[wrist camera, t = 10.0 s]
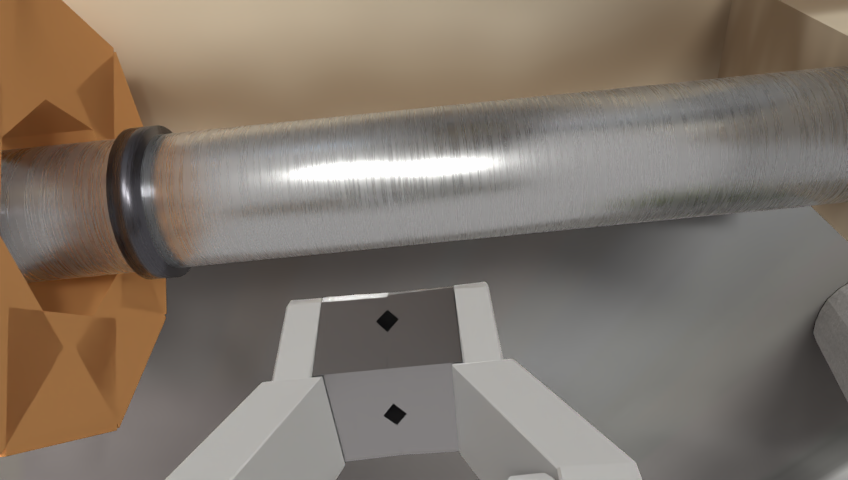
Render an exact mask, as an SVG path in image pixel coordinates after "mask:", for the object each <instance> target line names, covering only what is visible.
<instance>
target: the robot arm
mask: <svg viewBox="0 0 848 480" xmlns="http://www.w3.org/2000/svg"><path fill="white" fill-rule="evenodd" d="M454 451H460V455H461V456H462V457H463V459H464V460H465V461H466V463H467V464H468V465H469V466H470V468H471V469H472V470H473V472H474V473H475V474H476V475H477V477H478V478H479V479H480V480H642V478H641V475H640V472H639V470H638V467H637V464H636V462H635V461H634V460H632V459H631V458H630V457H629V456H628V455H627V454H625V453H624V452H623V451H622V450H621V449H619V448H618V447H617V446H616V445H615V444H614V443H612V442H611V441H610V440H609V439H608V438H606V437H605V436H604V435H603V434H602V433H601V432H599V431H598V430H597V429H596V428H595V427H593V426H592V425H591V424H590V423H589V422H588V421H586V420H585V419H584V418H583V417H582V416H581V415H579V414H578V413H577V412H576V411H575V410H573V409H572V408H571V407H570V406H569V405H568V404H566V403H565V402H564V401H563V400H562V399H560V398H559V397H558V396H557V395H556V394H555V393H553V392H552V391H551V390H550V389H549V388H547V387H546V386H545V385H544V384H543V383H542V382H540V381H539V380H538V379H537V378H536V377H534V376H533V375H532V374H531V373H530V372H529V371H527V370H526V369H525V368H524V367H523V366H521V365H520V364H519V363H518V362H517V361H516V360H514V359H503V355H502V350H501V346H500V341H499V336H498V331H497V326H496V321H495V316H494V311H493V306H492V301H491V296H490V291H489V286H488V284H487V283H486V282H478V283H469V284H461V285H454V286H453V287H452V286H449V287H440V288H430V289H420V290H410V291H400V292H391V293H376V294H362V295H348V296H335V297H324V298H315V299H302V300H291V301H290V303H289V304H288V306H287V307H286V312H285V317H284V322H283V327H282V332H281V337H280V342H279V347H278V352H277V357H276V362H275V368H274V373H273V378H272V381H269V382H262V383H261V384H260V385H259V386H258V387H257V388H256V389H255V390H254V391H253V392H252V393H251V394H250V395H249V396H248V397H247V398H246V399H245V400H244V401H243V402H242V403H241V404H240V405H239V406H238V407H237V408H236V409H235V410H234V411H233V412H232V413H231V414H230V415H229V416H228V417H227V418H226V419H225V420H224V421H223V422H222V423H221V424H220V425H219V426H218V427H217V428H216V429H215V430H214V431H213V432H212V433H211V434H210V435H209V436H208V437H207V438H206V439H205V440H204V441H203V442H202V443H201V444H200V445H199V446H198V447H197V448H196V449H195V450H194V451H193V452H192V453H191V454H190V455H189V456H188V457H187V458H186V459H185V460H184V461H183V462H182V463H181V464H180V465H179V466H178V467H177V468H176V469H175V470H174V471H173V472H172V473H171V474H170V475H169V476H168V477H167V478H166V479H165V480H336V479H337V477H338V476H339V474H340V473H341V471H342V470H343V468H344V466H345V462H347V461H355V460H363V459H372V458H380V457H389V456H397V455H408V454H424V453H439V452H454Z"/></svg>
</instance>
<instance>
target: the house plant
mask: <svg viewBox="0 0 848 480" xmlns="http://www.w3.org/2000/svg"><path fill="white" fill-rule="evenodd" d="M813 333H814V336H815V339H816V342H817V344H818V346H819V348H820V349H821V351H822V353H823V355H824V357H825V359H826V361H827V363H828V365H829V367H830V369H831V371H832V373H833V375H834V377H835V379H836V381H837V382H838V384H839V386H840V388H841V390H842V392H843V394H844V396H845V398H846V400H847V402H848V284H846V285H844V286H843V287H841V288H840V289H839V290H837V291H836V292H835V293H834V294H833V295H832V296H831V297H830V298H828V299H827V301H826V303H825V304H824V306H823V307H822V309H821V311H820V313H819V315H818V317H817V320H816V322H815V327H814V332H813Z"/></svg>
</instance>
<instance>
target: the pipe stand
mask: <svg viewBox="0 0 848 480" xmlns="http://www.w3.org/2000/svg"><path fill="white" fill-rule="evenodd" d="M62 1H63V2H64V3H66V4H67V5H68V6H69V7H70V8H71V9H72V10H73V11H74V12H75V13H76V14H77V15H78V16H80V17H81V18H82V19H83V20H84V21H85V22H86V23H87V24H88V25H89V26H90V27H91V28H92V29H94V30H95V31H96V32H97V33H98V34H99V35H100V36H101V37H102V38H103V39H104V40H105V41H106V42H108V43H109V44H110V45H111V46H112V47H113V48H114V52H116V54H117V57H118V59H119V62H120V65H121V67H122V70H123V73H124V76H125V78H126V81H127V84H128V86H129V89H130V92H131V95H132V97H133V100H134V103H135V105H136V108H137V111H138V114H139V116H140V119H141V122H142V124H143V127H146V126H156V125H160V126H164V127H166V128H168V129H169V130H170V131H171V132H172V133H179V132H189V131H199V130H209V129H219V128H229V127H239V126H249V125H259V124H269V123H279V122H288V121H298V120H308V119H318V118H328V117H338V116H348V115H358V114H368V113H378V112H388V111H398V110H408V109H418V108H428V107H438V106H448V105H458V104H467V103H477V102H487V101H497V100H507V99H517V98H527V97H537V96H547V95H557V94H567V93H577V92H587V91H597V90H607V89H617V88H627V87H637V86H646V85H656V84H666V83H676V82H686V81H696V80H706V79H716V78H726V77H736V76H746V75H756V74H766V73H776V72H786V71H796V70H806V69H816V68H825V67H835V66H848V0H62ZM811 207H812V208H813V209H814V210H815V211H816V212H818V213H819V214H820V215H821V216H822V217H823V218H824V219H825V220H826V221H827V222H828V223H829V224H830V225H831V226H832V227H833V228H834V229H835V230H836V231H837V232H838V233H839V234H840V235H841V236H842V237H843V238H845V239H846V240H847V241H848V202H845V203H835V204H824V205H814V206H811Z"/></svg>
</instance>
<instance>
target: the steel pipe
mask: <svg viewBox="0 0 848 480" xmlns="http://www.w3.org/2000/svg"><path fill="white" fill-rule="evenodd" d="M845 202H848V66H835V67H825V68H816V69H806V70H796V71H786V72H776V73H766V74H756V75H746V76H736V77H726V78H716V79H706V80H696V81H686V82H676V83H666V84H656V85H646V86H637V87H627V88H617V89H607V90H597V91H587V92H577V93H567V94H557V95H547V96H537V97H527V98H517V99H507V100H497V101H487V102H477V103H467V104H458V105H448V106H438V107H428V108H418V109H408V110H398V111H388V112H378V113H368V114H358V115H348V116H338V117H328V118H318V119H308V120H298V121H288V122H279V123H269V124H259V125H249V126H239V127H229V128H219V129H209V130H199V131H189V132H179V133H172V132H171V131H170V130H169V129H168V128H166V127H164V126H160V125H156V126H146V127H136V128H129V129H125V130H124V131H122V132H121V133H120V134H119V135H118V136H117V138H116V139H109V140H100V141H90V142H80V143H70V144H60V145H50V146H40V147H30V148H20V149H10V150H2V151H1V193H0V236H1V238H2V240H3V241H4V243H5V245H6V247H7V248H8V250H9V252H10V254H11V255H12V257H13V259H14V261H15V262H16V264H17V266H18V268H19V270H20V271H21V273H22V275H23V277H24V278H25V280H26V282H27V283H30V282H40V281H51V280H61V279H71V278H81V277H91V276H101V275H112V274H122V273H132V272H135V273H136V274H138V275H139V276H141V277H142V278H145V279H150V280H152V279H162V278H172V277H180V276H183V275H185V274H186V273H187V272H188V271H189V269H190V268H191V267H193V266H203V265H213V264H224V263H234V262H244V261H254V260H264V259H275V258H285V257H295V256H305V255H315V254H325V253H336V252H346V251H356V250H366V249H376V248H387V247H397V246H407V245H417V244H427V243H437V242H448V241H458V240H468V239H478V238H488V237H499V236H509V235H519V234H529V233H539V232H549V231H560V230H570V229H580V228H590V227H600V226H611V225H621V224H631V223H641V222H651V221H661V220H672V219H682V218H692V217H702V216H712V215H723V214H733V213H743V212H753V211H763V210H773V209H784V208H794V207H804V206H814V205H824V204H835V203H845Z"/></svg>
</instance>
